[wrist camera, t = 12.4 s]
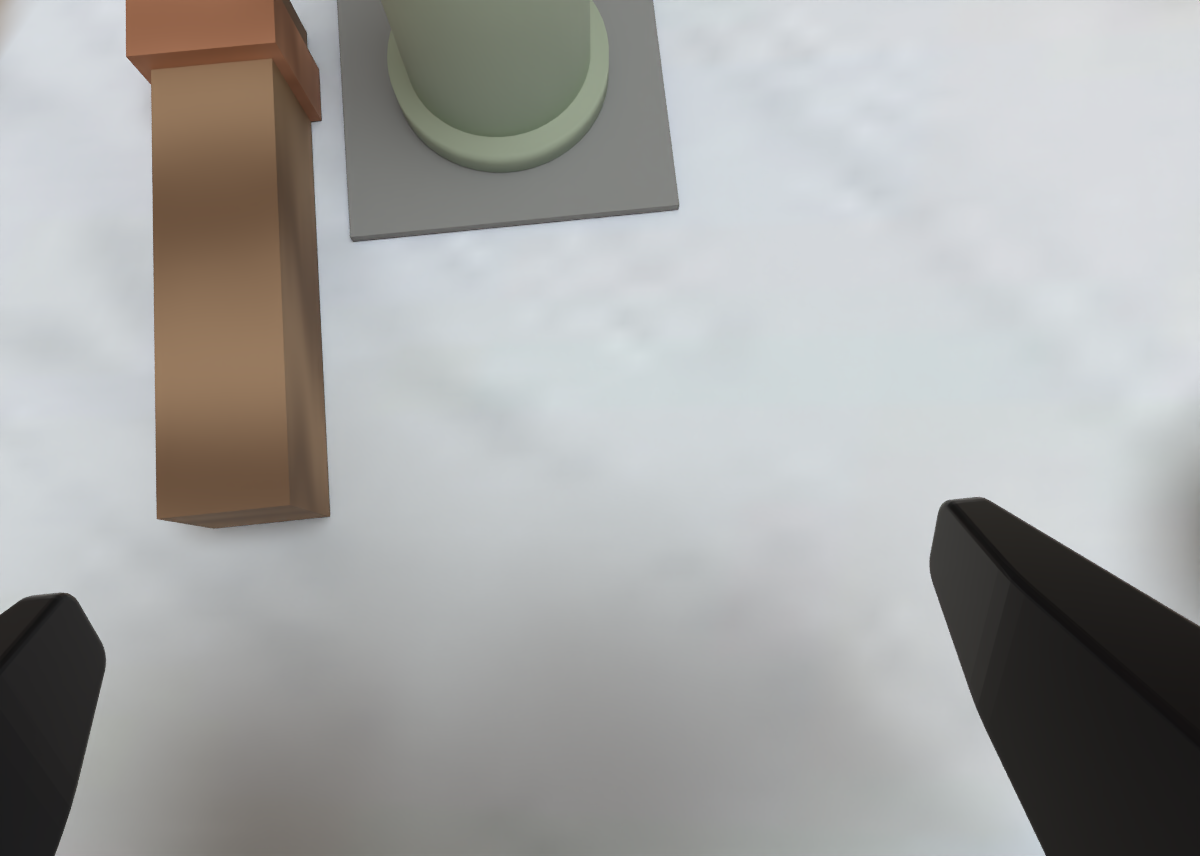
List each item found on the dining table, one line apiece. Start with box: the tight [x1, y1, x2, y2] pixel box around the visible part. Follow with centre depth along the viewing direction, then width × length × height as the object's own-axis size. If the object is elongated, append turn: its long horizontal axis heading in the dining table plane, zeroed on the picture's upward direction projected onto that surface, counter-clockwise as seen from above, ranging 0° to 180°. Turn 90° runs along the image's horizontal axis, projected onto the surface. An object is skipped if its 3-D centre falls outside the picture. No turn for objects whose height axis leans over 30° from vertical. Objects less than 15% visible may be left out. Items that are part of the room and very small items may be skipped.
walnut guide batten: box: [126, 0, 330, 528], centre depth 22 cm, size 14×4×4 cm, turn 6°
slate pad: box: [337, 0, 679, 241], centre depth 25 cm, size 9×9×1 cm
